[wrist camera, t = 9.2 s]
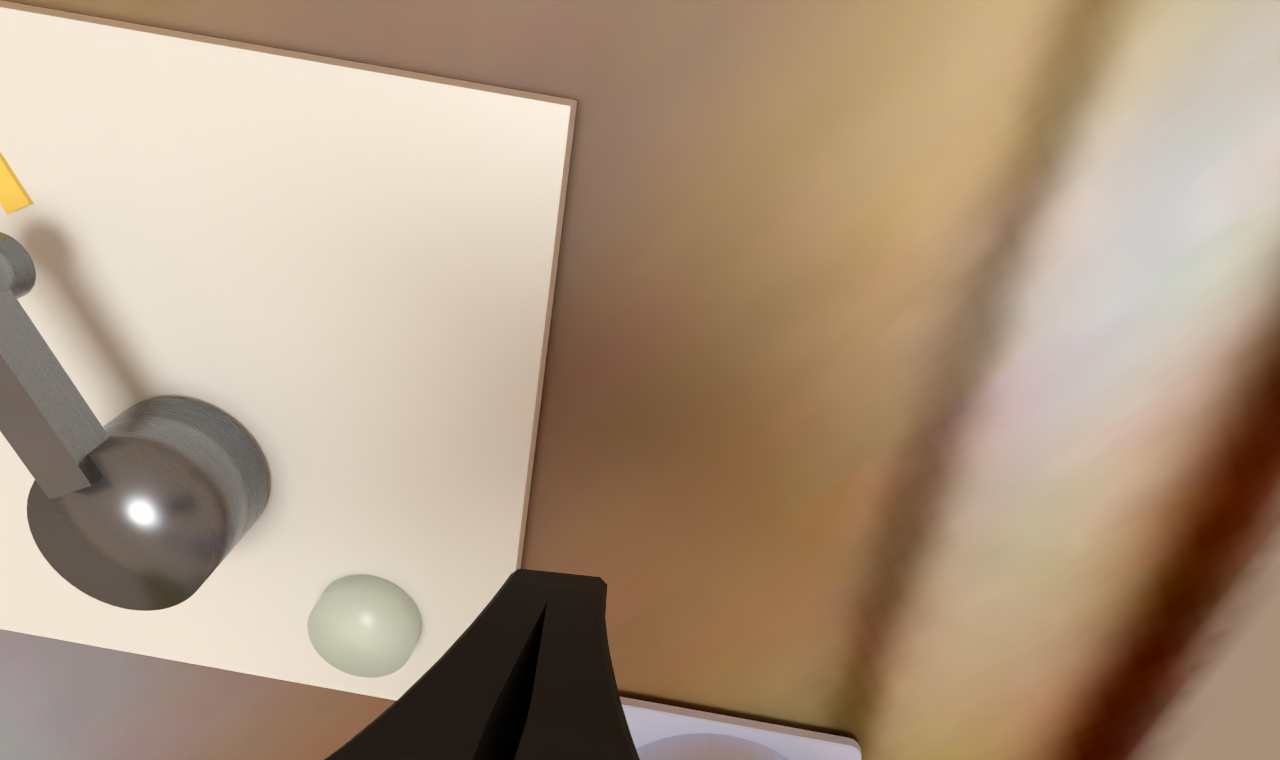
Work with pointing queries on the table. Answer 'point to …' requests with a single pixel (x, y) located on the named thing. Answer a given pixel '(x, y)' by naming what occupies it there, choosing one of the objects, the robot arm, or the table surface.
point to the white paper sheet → (290, 326)
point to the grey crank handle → (120, 472)
